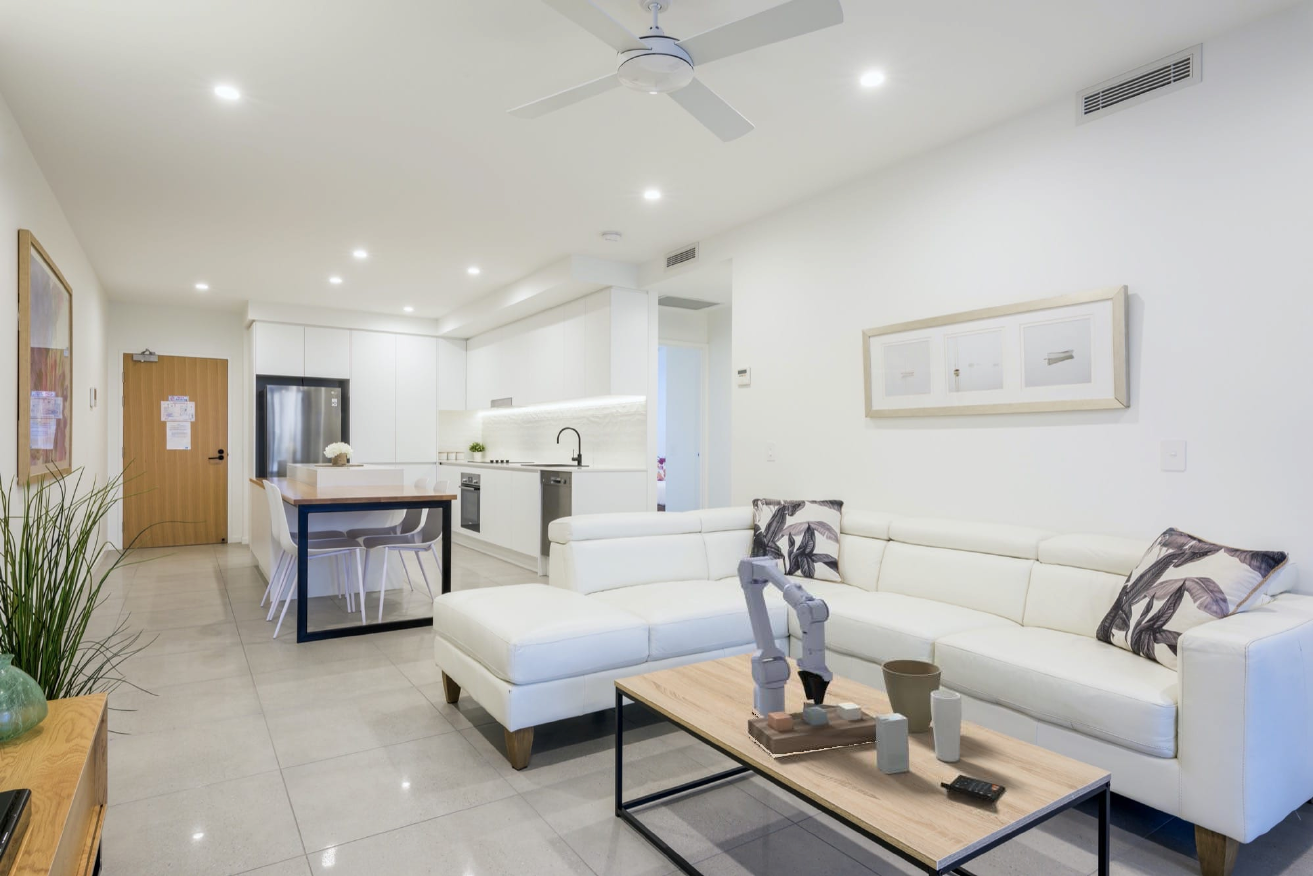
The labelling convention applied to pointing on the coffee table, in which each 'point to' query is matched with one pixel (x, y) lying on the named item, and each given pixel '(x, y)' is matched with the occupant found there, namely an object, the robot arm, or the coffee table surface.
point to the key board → (813, 733)
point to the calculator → (975, 788)
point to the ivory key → (848, 711)
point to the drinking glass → (946, 724)
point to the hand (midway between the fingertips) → (814, 701)
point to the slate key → (814, 716)
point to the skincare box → (892, 743)
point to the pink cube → (779, 721)
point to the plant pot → (912, 690)
